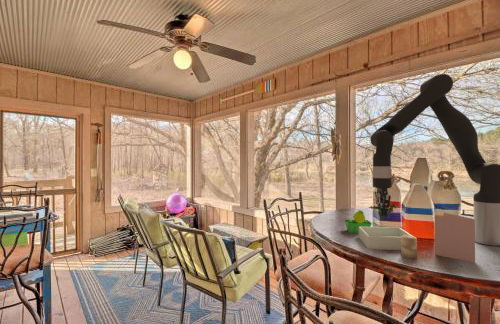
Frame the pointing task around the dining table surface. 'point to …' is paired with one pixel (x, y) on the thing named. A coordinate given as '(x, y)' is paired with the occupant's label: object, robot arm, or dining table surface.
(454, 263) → the dining table surface
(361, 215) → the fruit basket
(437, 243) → the greeting card
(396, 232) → the tray
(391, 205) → the green branched piece
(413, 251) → the maple cylinder
